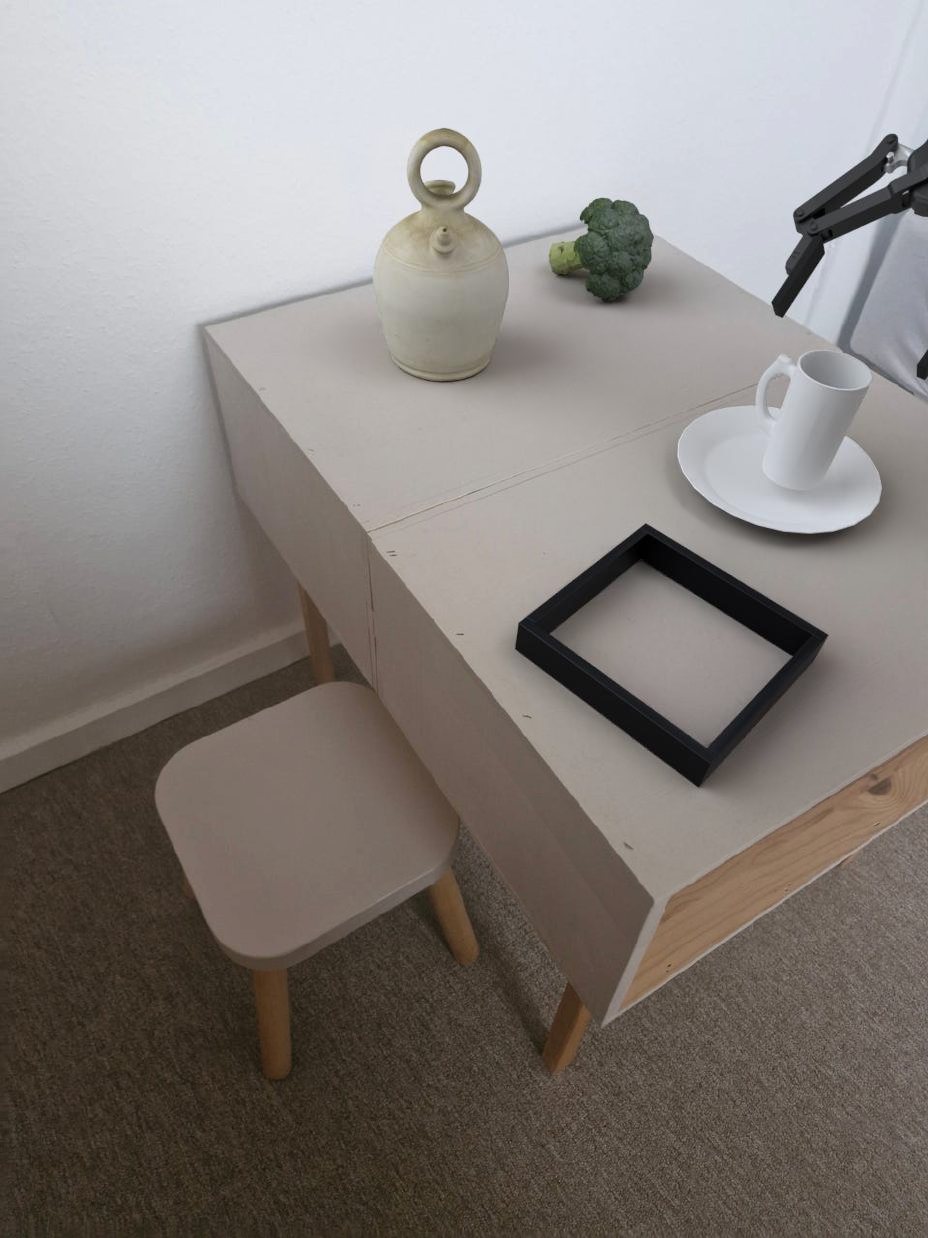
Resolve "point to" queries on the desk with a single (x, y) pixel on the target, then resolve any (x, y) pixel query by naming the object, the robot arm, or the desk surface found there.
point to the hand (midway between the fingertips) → (845, 340)
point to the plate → (735, 481)
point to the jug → (441, 274)
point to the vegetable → (608, 248)
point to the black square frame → (625, 706)
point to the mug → (810, 414)
